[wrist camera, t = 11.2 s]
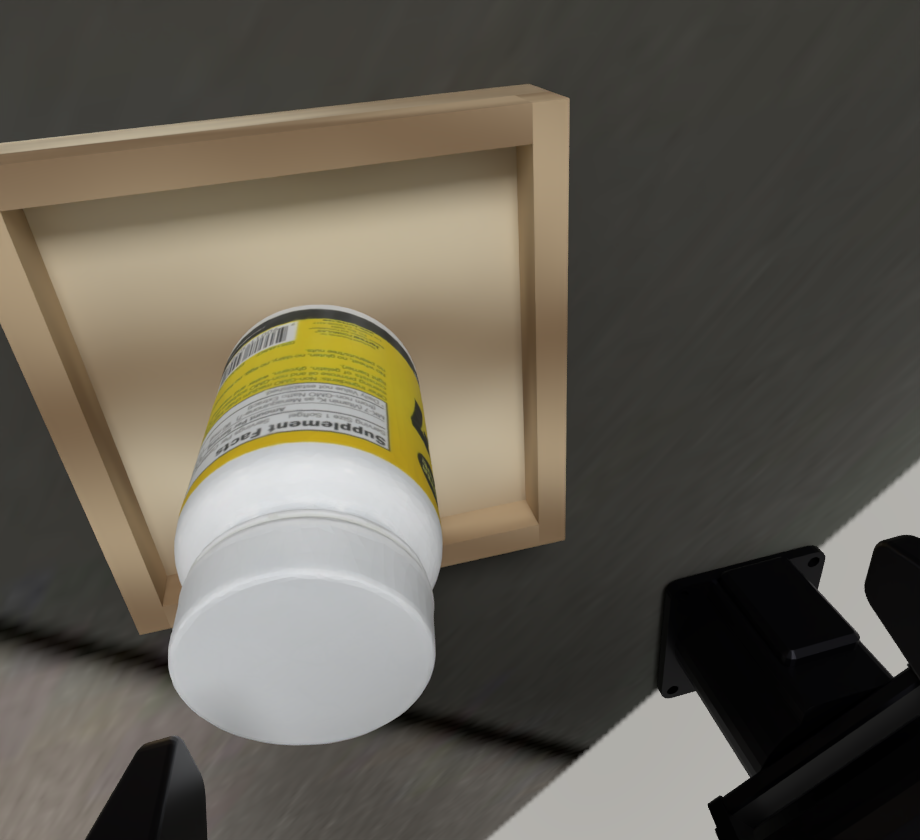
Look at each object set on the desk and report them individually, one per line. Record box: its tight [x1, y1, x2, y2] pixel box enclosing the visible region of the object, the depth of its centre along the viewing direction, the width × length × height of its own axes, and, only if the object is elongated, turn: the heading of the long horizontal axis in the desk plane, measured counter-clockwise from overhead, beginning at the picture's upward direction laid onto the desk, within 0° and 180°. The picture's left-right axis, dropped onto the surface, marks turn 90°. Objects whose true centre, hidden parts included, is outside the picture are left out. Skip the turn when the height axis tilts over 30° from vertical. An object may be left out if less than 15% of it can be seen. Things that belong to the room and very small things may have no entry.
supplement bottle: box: [168, 305, 443, 745], centre depth 14 cm, size 5×5×8 cm
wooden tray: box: [0, 84, 570, 635], centre depth 18 cm, size 12×12×3 cm
